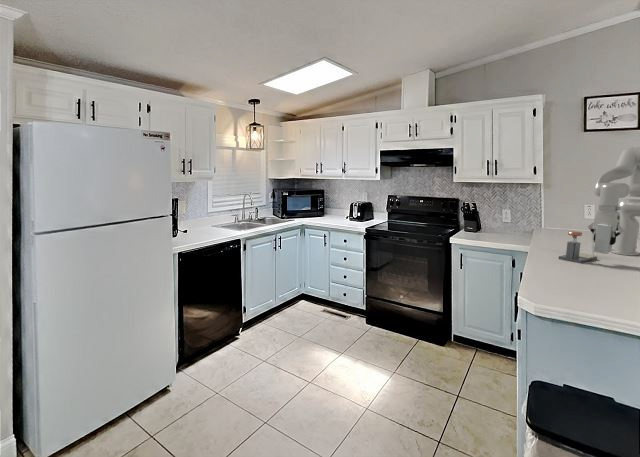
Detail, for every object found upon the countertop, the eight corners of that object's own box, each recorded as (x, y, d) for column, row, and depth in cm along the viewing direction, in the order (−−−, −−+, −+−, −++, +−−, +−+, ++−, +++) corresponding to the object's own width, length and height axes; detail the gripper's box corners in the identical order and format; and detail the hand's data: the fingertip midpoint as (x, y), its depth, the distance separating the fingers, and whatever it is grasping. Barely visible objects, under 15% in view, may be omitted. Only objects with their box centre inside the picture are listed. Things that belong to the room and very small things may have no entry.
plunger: (570, 248, 196) (571, 230, 195) (582, 250, 191) (584, 232, 190) (564, 249, 193) (566, 231, 192) (576, 251, 188) (578, 233, 187)
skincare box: (598, 249, 191) (601, 221, 188) (612, 251, 186) (615, 223, 184) (593, 252, 186) (596, 223, 183) (607, 254, 181) (611, 225, 179)
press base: (574, 255, 205) (576, 238, 203) (597, 259, 196) (599, 241, 194) (558, 259, 197) (560, 241, 195) (580, 263, 187) (583, 244, 186)
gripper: (632, 209, 176) (627, 245, 180) (592, 206, 191) (588, 239, 194) (625, 211, 173) (620, 247, 176) (584, 207, 188) (581, 241, 191)
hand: (603, 242), depth 185 cm, fingers closed on skincare box, 6 cm apart
